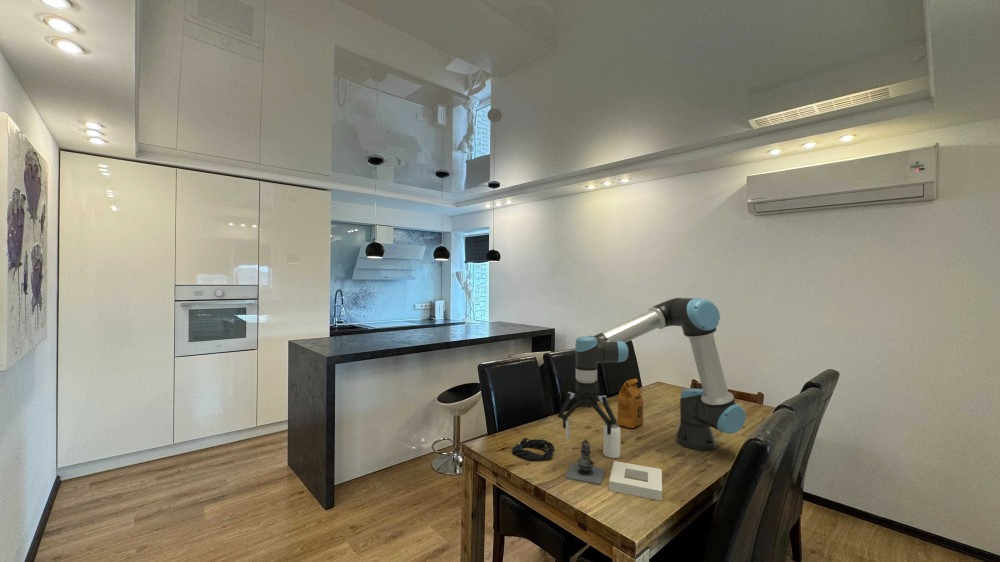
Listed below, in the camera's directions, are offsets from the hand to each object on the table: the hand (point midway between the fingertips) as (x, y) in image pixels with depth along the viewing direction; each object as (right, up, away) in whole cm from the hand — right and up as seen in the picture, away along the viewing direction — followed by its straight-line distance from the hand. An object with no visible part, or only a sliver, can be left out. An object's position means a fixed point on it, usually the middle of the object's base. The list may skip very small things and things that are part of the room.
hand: (586, 440), depth 137 cm
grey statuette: (0, -11, 0) cm, 11 cm away
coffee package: (+32, -13, +50) cm, 61 cm away
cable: (-18, -12, +16) cm, 27 cm away
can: (+13, -12, +16) cm, 24 cm away
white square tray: (+15, -12, -7) cm, 20 cm away
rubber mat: (-1, -12, 0) cm, 12 cm away
